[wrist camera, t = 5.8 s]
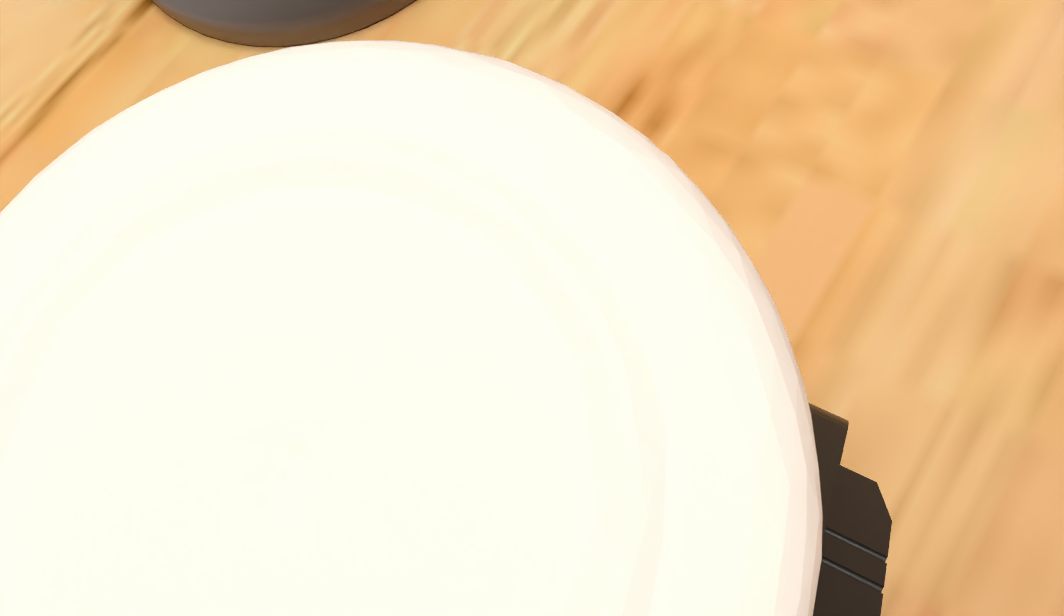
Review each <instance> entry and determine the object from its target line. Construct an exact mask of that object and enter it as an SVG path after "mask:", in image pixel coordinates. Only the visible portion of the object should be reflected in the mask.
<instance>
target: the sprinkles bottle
mask: <svg viewBox="0 0 1064 616" xmlns="http://www.w3.org/2000/svg"><path fill="white" fill-rule="evenodd" d="M822 518H823V514H822V502H821V490H820V478H819V467H818V460H817V453H816V446H815V439H814V432H813V425H812V418H811V412H810V408H809V404H808V399H807V395H806V390H805V386H804V383H803V380H802V377H801V374H800V371H799V368H798V365H797V361H796V358H795V355H794V352H793V349H792V346H791V344H790V341H789V338H788V336H787V333H786V331H785V328H784V326H783V323H782V321H781V318H780V316H779V313H778V311H777V308H776V306H775V303H774V301H773V299H772V297H771V295H770V293H769V291H768V289H767V288H766V286H765V284H764V282H763V280H762V279H761V277H760V275H759V273H758V271H757V270H756V268H755V266H754V265H753V263H752V261H751V260H750V258H749V257H748V255H747V253H746V252H745V250H744V248H743V247H742V245H741V244H740V242H739V240H738V239H737V237H736V236H735V234H734V232H733V231H732V229H731V227H730V226H729V225H728V223H727V222H726V221H725V220H724V219H723V217H722V216H721V215H720V214H719V212H718V211H717V210H716V209H715V207H714V206H713V205H712V204H711V202H710V201H709V200H708V199H707V197H706V196H705V195H704V194H703V192H702V191H701V190H700V189H699V188H698V187H697V186H696V185H695V184H694V182H693V181H692V180H691V179H690V178H689V177H688V176H687V175H686V174H685V173H684V172H683V171H682V170H681V169H680V168H679V166H678V165H677V164H676V163H675V162H674V161H673V160H672V159H671V158H670V157H669V156H668V155H666V154H665V153H664V152H662V151H661V150H659V149H658V148H657V147H656V146H655V145H654V144H653V142H652V141H651V140H650V139H648V138H647V137H646V136H644V135H643V134H641V133H640V132H639V131H637V130H636V129H634V128H633V127H632V126H630V125H629V124H628V123H626V122H625V121H623V120H622V119H621V118H619V117H618V116H616V115H615V114H614V113H612V112H611V111H609V110H607V109H606V108H604V107H602V106H601V105H599V104H597V103H596V102H594V101H592V100H591V99H589V98H587V97H585V96H584V95H582V94H580V93H578V92H577V91H575V90H573V89H571V88H570V87H568V86H566V85H564V84H562V83H559V82H557V81H555V80H552V79H550V78H547V77H545V76H543V75H540V74H538V73H535V72H533V71H530V70H528V69H526V68H523V67H521V66H518V65H516V64H514V63H511V62H508V61H505V60H501V59H498V58H495V57H491V56H486V55H482V54H477V53H472V52H467V51H463V50H458V49H453V48H448V47H444V46H439V45H434V44H424V43H415V42H405V41H338V42H328V43H320V44H312V45H304V46H296V47H289V48H285V49H280V50H276V51H272V52H268V53H264V54H260V55H255V56H251V57H247V58H244V59H241V60H237V61H234V62H231V63H228V64H225V65H222V66H219V67H216V68H213V69H210V70H207V71H204V72H202V73H200V74H197V75H195V76H193V77H191V78H188V79H186V80H184V81H182V82H179V83H177V84H175V85H172V86H170V87H168V88H166V89H163V90H162V91H160V92H158V93H156V94H154V95H152V96H150V97H148V98H146V99H144V100H142V101H140V102H139V103H137V104H135V105H133V106H131V107H129V108H127V109H125V110H124V111H122V112H121V113H119V114H117V115H116V116H114V117H112V118H111V119H109V120H108V121H106V122H104V123H103V124H101V125H100V126H98V127H96V128H95V129H93V130H92V131H91V132H89V133H88V134H87V135H85V136H84V137H83V138H82V139H80V140H79V141H78V142H76V143H75V144H74V145H73V146H71V147H70V148H69V149H68V150H66V151H65V152H64V153H63V154H62V155H60V156H59V157H58V158H57V159H56V160H54V161H53V162H52V163H51V164H49V165H48V166H47V167H46V168H45V169H44V170H42V171H41V172H40V173H39V174H38V175H36V176H35V177H34V178H33V179H32V180H31V181H30V182H29V183H28V184H27V186H26V187H25V188H24V189H23V190H22V191H21V192H20V193H19V194H18V195H17V196H16V197H15V198H14V199H13V200H12V201H11V202H10V203H9V204H8V205H7V206H6V207H5V208H4V210H3V211H2V212H1V213H0V616H813V610H814V604H815V598H816V591H817V585H818V578H819V572H820V565H821V559H822Z"/></svg>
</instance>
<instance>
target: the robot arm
mask: <svg viewBox="0 0 1064 616" xmlns="http://www.w3.org/2000/svg"><path fill="white" fill-rule="evenodd" d="M808 404H809V408H810V412H811V418H812V425H813V432H814V439H815V446H816V453H817V460H818V467H819V478H820V490H821V502H822V514H823V518H822V559H821V565H820V572H819V578H818V585H817V591H816V598H815V604H814V610H813V616H880V614H881V606H882V598H883V594H882V593H881V591H882V589H883V587H884V581H885V573H886V565H887V564H886V563H885V561H886V558H887V557H888V549H889V540H890V532H891V524H892V520H891V518H890V515H889V513H888V510H887V508H886V505H885V502H884V500H883V497H882V495H881V492H880V490H879V487H878V484H877V482H875V481H873V480H870V479H868V478H866V477H864V476H862V475H860V474H858V473H855V472H853V471H851V470H849V469H847V468H845V467H843V466H840V461H841V457H842V452H843V448H844V443H845V439H846V434H847V430H848V421H847V420H845V419H843V418H841V417H839V416H836V415H834V414H832V413H830V412H828V411H825V410H823V409H821V408H819V407H816V406H814V405H812V404H810V403H808Z"/></svg>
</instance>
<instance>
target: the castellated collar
mask: <svg viewBox="0 0 1064 616" xmlns="http://www.w3.org/2000/svg"><path fill="white" fill-rule="evenodd" d="M152 1H153V2H154V3H155V4H156V5H157V6H158V7H159V8H160V9H161V10H162V11H163V12H165V13H166V14H167V15H169V16H170V17H172V18H173V19H175V20H176V21H178V22H179V23H181V24H182V25H184V26H186V27H188V28H190V29H193V30H195V31H197V32H199V33H201V34H204V35H206V36H209V37H213V38H216V39H220V40H223V41H227V42H231V43H238V44H245V45H251V46H290V45H300V44H309V43H314V42H318V41H322V40H327V39H331V38H336V37H339V36H342V35H345V34H348V33H351V32H354V31H356V30H359V29H362V28H365V27H367V26H369V25H371V24H373V23H375V22H378V21H380V20H382V19H384V18H386V17H388V16H390V15H392V14H394V13H395V12H397V11H399V10H400V9H402V8H403V7H405V6H407V5H408V4H410V3H412V2H413V1H415V0H152Z"/></svg>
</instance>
